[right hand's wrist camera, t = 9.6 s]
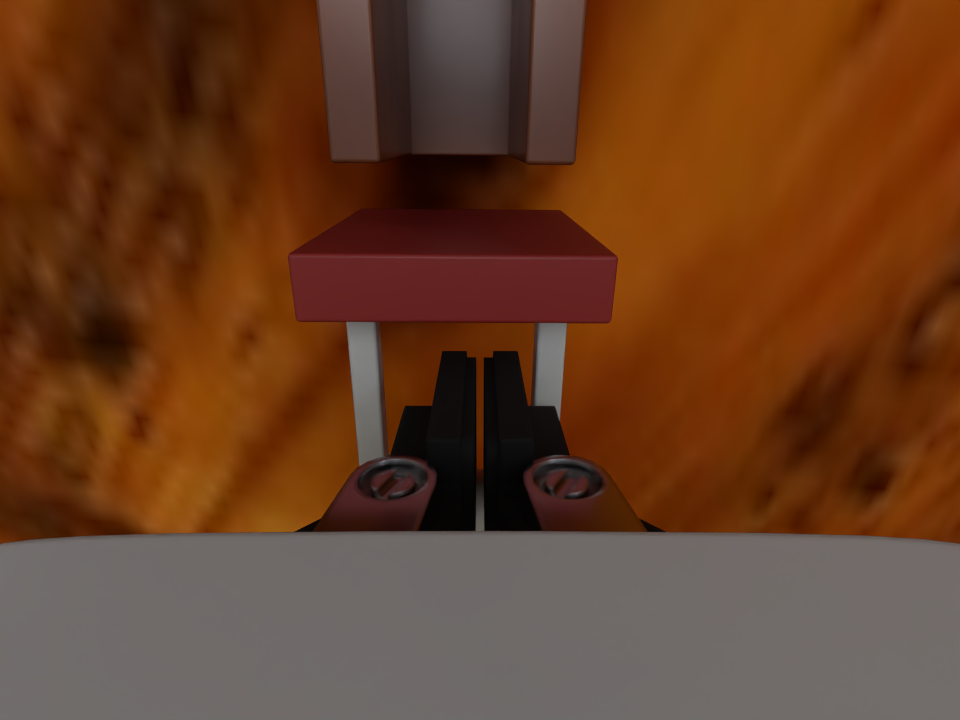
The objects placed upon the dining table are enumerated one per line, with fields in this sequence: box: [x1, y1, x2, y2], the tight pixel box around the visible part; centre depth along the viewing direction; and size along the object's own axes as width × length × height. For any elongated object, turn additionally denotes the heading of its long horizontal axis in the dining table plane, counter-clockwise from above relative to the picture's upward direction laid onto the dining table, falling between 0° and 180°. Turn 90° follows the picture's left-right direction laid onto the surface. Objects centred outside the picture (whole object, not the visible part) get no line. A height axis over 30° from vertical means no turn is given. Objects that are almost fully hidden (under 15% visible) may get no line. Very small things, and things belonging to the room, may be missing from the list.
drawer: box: [288, 0, 618, 531], centre depth 10 cm, size 22×6×6 cm, turn 0°
